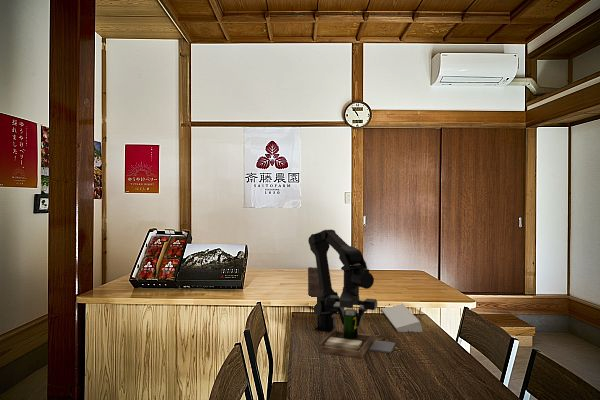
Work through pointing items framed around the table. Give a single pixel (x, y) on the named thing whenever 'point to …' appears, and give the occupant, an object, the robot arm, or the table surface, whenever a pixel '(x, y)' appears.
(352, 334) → the beer can
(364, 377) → the table surface
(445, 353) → the table surface
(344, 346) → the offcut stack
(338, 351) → the wooden tray
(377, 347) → the grey rubber mat
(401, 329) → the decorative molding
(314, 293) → the dark brown tall block
